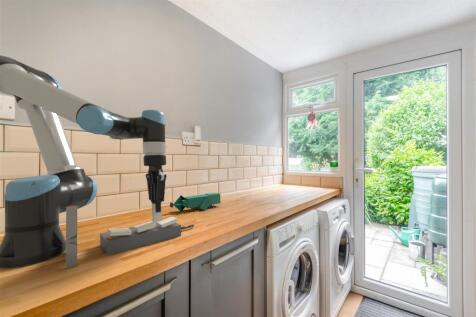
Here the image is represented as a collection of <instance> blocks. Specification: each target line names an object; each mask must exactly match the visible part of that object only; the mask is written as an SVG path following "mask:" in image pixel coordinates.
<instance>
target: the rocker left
mask: <svg viewBox="0 0 476 317" xmlns="http://www.w3.org/2000/svg"><path fill="white" fill-rule="evenodd" d="M129 228H130V227H126V228H125V227H124V228H121V227H120V228H118V227H117V228H108V229H107V231H106V232H107V233H108V234H109V235H110V236H118V235H131V234H132V231H131V230H130V229H129Z"/></svg>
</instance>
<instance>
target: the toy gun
mask: <svg viewBox="0 0 476 317" xmlns="http://www.w3.org/2000/svg"><path fill="white" fill-rule="evenodd" d="M65 240H66V250H65V270H68V269H72V268H76V267H78V209H77V206H75V205H69V206H68V207H66V212H65Z"/></svg>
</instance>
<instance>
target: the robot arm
mask: <svg viewBox="0 0 476 317" xmlns="http://www.w3.org/2000/svg"><path fill="white" fill-rule="evenodd" d="M0 93H1V94H4V95H8V96H13V97H14V98H15V102H16V103H17V106H18V108H20V109H21V110H24V111H25V112H26V115H27V118H28V121H29V124H30V126H31V129H32V133H33V135H34V137H35V140H36V143H37V147H38V150H39V152H40V155H41V156H42V161H43V163H44V166H45V168H46V172H47V173H46V174H45V175H44V174H43V175H42V174H41V175H36V176H35V175H34V176H26V177H20V178H19V177H18V178H16V179H13V180H11V181H9V182H8V183H7V184H6V185H5V194H4V196H3V199H4V236H3V237H2V240H1V242H0V268H2V269H3V268H6V269H7V268H19V267H24V266H29V265H33V264H34V265H35V264H38V263H41V262H45V261H48V260H50V259H52V258H55V257H58V256H60V255H61V254H63V253H64V252H66V237H64V234H63V232H62V229H61V227H60V214H62V213H66V207H68V206H69V205H75V206H77V210H78V209H80V208H84V207H86V206H88V205H90V204H91V203H92V202H93V201H94V200H95V197H96V196H97V193H98V185H97V182H96V180H95V179H94V178H93V177H90V176H88V175H86V172H85V170H84V168H83V167H81V166H80V165H79V166H78V164H77V162H76V158H75V156H74V153H73V151H72V148H71V145H70V142H69V140H68V136H67V133H66V131H65V129H64V128H65V127H64V125H63V123H62V120H61V118H63V119H65V120H68V121H70V122H72V123H74V124H77V125H79V127H80V129H81V130H82V131H85V132H87V133H90V134H94V135H100V136H101V135H102V136H106V137H109V138H110V139H112V140H121V141H122V140H130V139H131V140H132V139H142V153H143V154H144V156H143V157H142V158H143V161H142V162H143V166H144V167H148V171H147V173H145V178H146V185H147V193H148V194H147V195H148V200H149V201H150V202H151V216H152V217H151V221H153V222H154V223H156V222H160V221H162V220H163V219H162V217H163V216H162V215H163V214H162V202H165V192H166V180H167V174H166V173H165V174H164V171H163V166H166V165H167V156H166V155H165V154H166V152H167V150H166V149H167V145H166V121H165V114H164V112H163V111H162V110H158V109H156V110H155V109H146V110H142V112H141V116H139V117H138V116H137V117H126V116H123V115H120V114H118V113H115V112H112V111H110V110H107V109H106V108H102V107H101V106H99V105H96V104H94V103H92V102H90V101H88V100H85V99H83V98H81V97H79V96H77V95H75V94H73V93H71V92H69V91H66V90H64V89H63V88H62V85H61V84H60V82H59V81H58V79H56V78H55V77H54V76H52V75H50V74H49V73H47V72H45V71H42V70H40V69H37V68H35V67H32V66H30V65H27V64H25V63H23V62H21V61H18V60H16V59H14V58H11V57H8V56H5V55H0Z"/></svg>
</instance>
